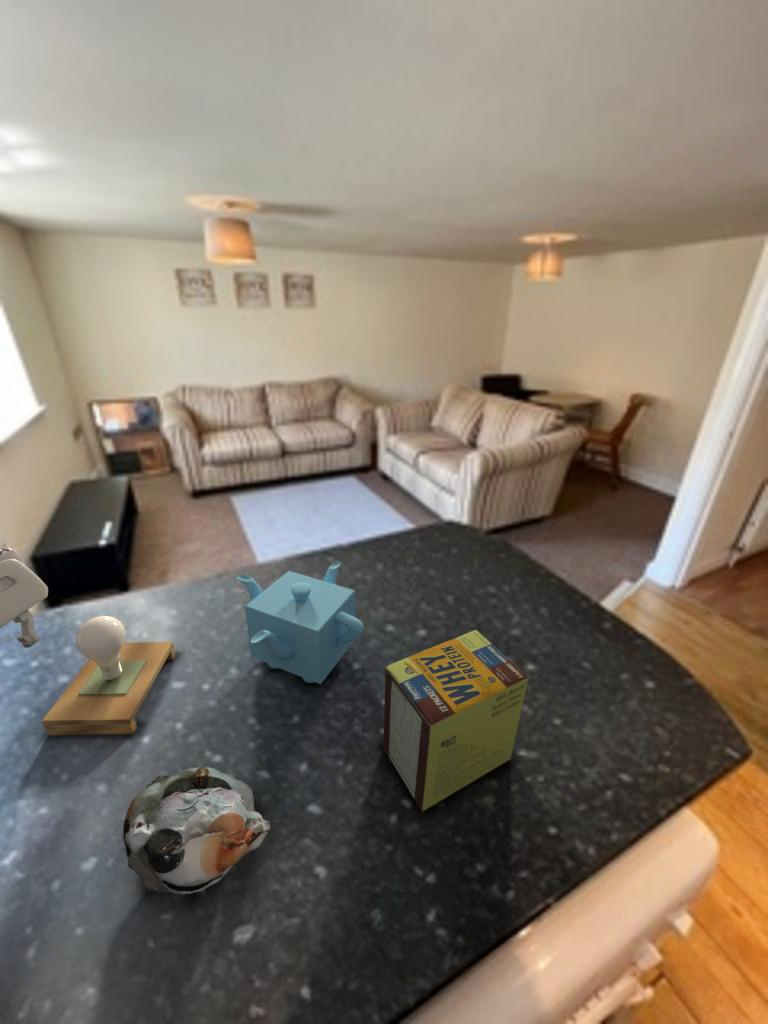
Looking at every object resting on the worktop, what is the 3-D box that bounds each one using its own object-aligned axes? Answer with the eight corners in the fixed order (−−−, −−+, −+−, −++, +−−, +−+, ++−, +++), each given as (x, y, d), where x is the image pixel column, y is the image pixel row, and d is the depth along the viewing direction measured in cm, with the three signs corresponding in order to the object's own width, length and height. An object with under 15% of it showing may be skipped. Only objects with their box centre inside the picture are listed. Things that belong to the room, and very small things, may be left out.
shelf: (48, 735, 64) (41, 719, 63) (106, 655, 79) (101, 641, 77) (133, 734, 65) (128, 718, 63) (175, 655, 79) (172, 640, 78)
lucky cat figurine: (264, 776, 59) (284, 749, 50) (248, 895, 51) (268, 891, 42) (142, 769, 55) (138, 738, 46) (104, 897, 47) (88, 893, 38)
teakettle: (370, 679, 75) (371, 608, 69) (255, 710, 69) (245, 635, 63) (339, 613, 91) (338, 550, 85) (244, 632, 85) (235, 566, 79)
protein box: (512, 759, 63) (531, 676, 56) (421, 814, 56) (430, 727, 49) (465, 705, 71) (476, 627, 64) (380, 747, 64) (383, 665, 57)
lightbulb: (117, 695, 67) (100, 637, 62) (79, 689, 68) (59, 631, 63) (144, 664, 73) (130, 609, 68) (109, 659, 74) (92, 604, 69)
